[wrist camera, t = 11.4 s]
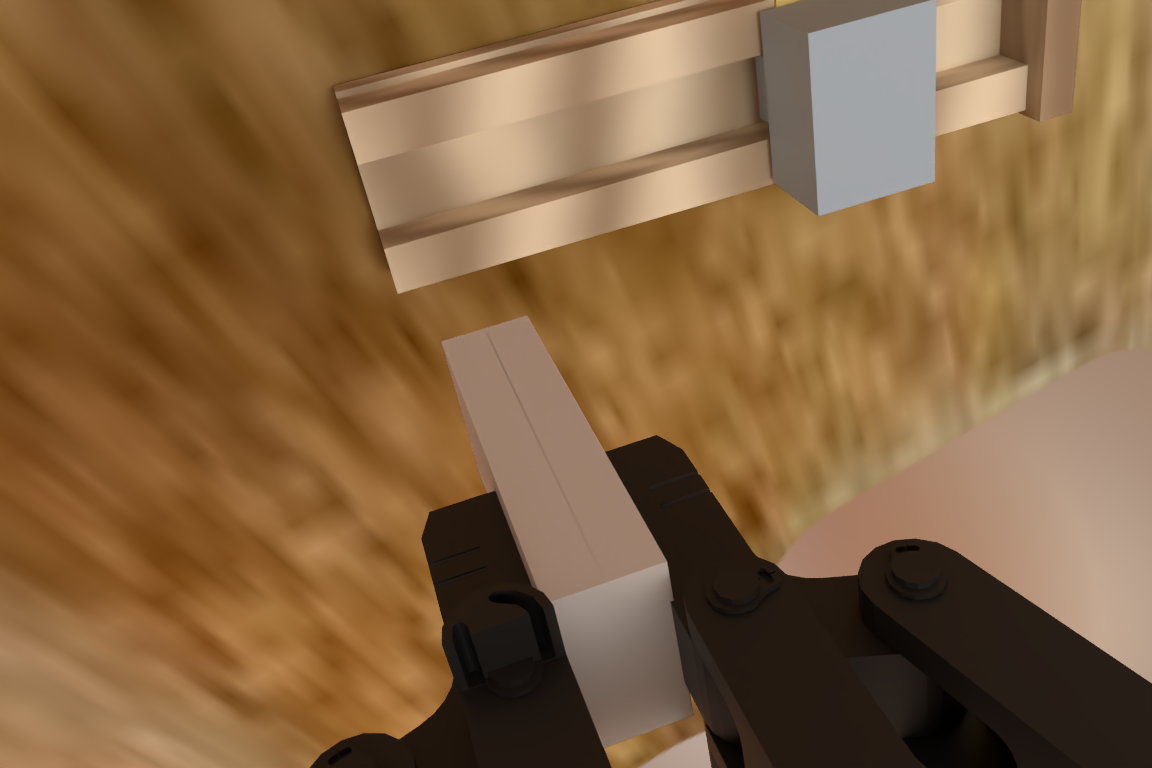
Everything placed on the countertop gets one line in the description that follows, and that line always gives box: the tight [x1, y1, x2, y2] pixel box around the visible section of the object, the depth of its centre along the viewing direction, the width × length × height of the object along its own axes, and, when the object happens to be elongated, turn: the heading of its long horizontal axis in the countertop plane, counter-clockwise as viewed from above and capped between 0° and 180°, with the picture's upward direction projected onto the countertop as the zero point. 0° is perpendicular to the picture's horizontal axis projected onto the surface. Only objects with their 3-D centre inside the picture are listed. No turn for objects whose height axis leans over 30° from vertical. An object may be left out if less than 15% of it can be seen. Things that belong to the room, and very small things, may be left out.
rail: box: [333, 0, 1082, 294], centre depth 42 cm, size 30×8×4 cm, turn 101°
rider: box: [755, 0, 937, 216], centre depth 41 cm, size 5×7×6 cm
